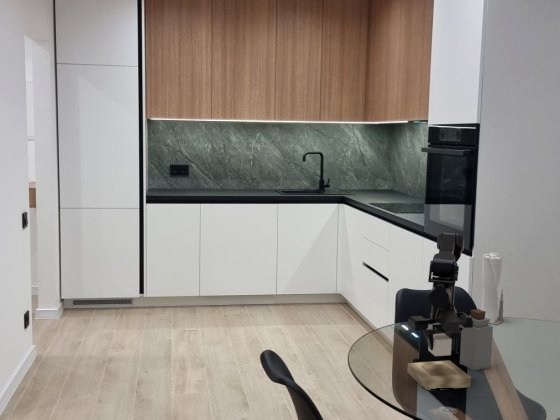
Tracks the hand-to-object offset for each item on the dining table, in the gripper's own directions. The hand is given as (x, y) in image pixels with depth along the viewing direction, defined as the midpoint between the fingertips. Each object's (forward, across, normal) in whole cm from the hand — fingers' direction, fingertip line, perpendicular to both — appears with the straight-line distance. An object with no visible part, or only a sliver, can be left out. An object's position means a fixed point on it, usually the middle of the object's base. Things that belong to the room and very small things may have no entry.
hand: (439, 349), depth 204 cm
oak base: (+10, 0, 0) cm, 10 cm away
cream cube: (+1, 0, 0) cm, 1 cm away
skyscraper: (+10, +45, +50) cm, 68 cm away
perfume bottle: (+10, +17, +9) cm, 22 cm away
